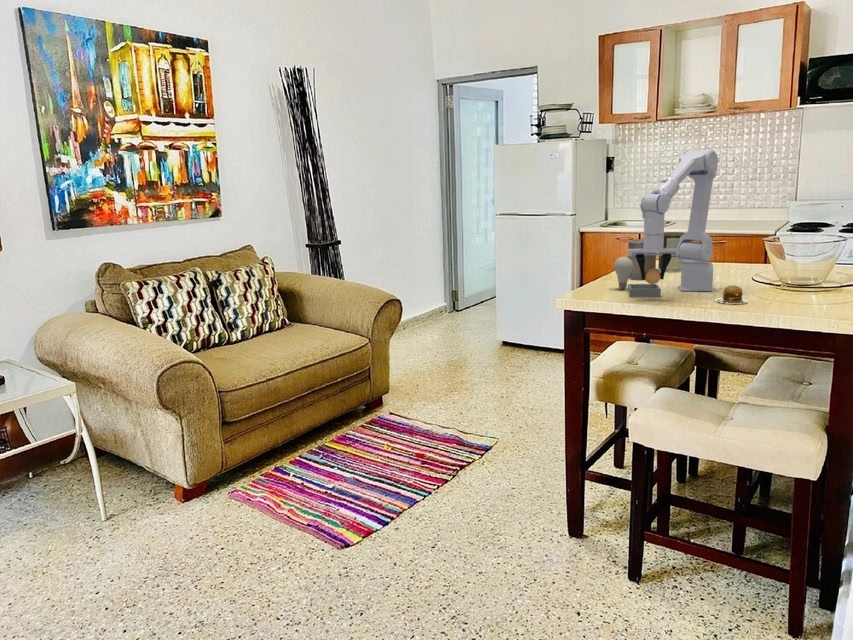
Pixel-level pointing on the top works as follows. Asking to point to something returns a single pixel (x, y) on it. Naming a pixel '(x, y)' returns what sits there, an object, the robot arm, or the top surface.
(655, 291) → the gray square tray
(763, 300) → the top surface
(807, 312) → the top surface
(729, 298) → the hamburger
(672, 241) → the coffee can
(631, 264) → the lightbulb
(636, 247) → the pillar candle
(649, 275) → the ball
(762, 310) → the top surface
